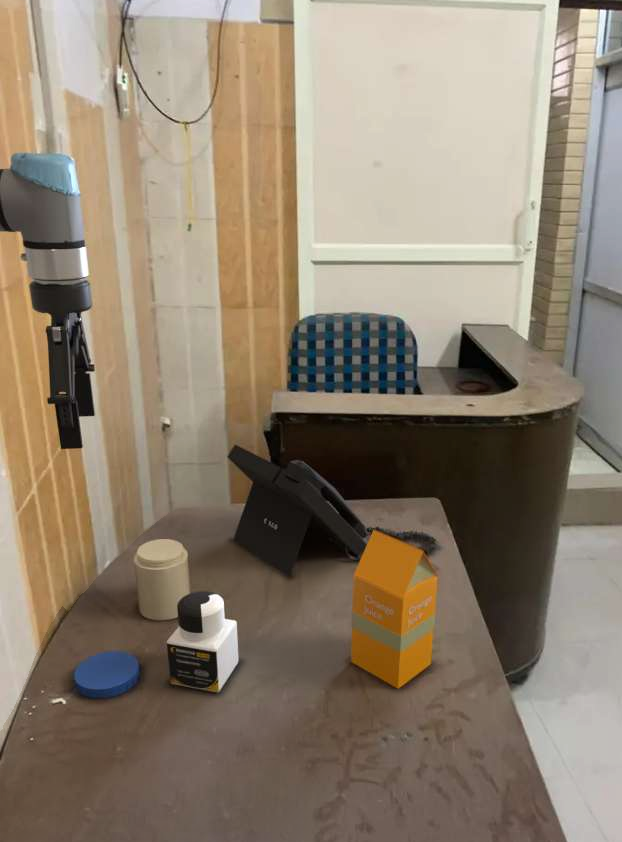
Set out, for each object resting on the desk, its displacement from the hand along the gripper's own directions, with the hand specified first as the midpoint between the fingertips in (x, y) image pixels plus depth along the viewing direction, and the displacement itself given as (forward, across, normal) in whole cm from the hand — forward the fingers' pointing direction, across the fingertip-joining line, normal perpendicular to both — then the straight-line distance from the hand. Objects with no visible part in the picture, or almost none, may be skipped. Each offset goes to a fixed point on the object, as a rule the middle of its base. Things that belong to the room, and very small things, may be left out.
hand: (79, 431), depth 109 cm
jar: (+29, +3, +10) cm, 31 cm away
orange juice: (+29, +23, +42) cm, 56 cm away
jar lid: (+28, +20, +3) cm, 34 cm away
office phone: (+29, -14, +40) cm, 51 cm away
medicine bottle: (+29, +21, +16) cm, 39 cm away
